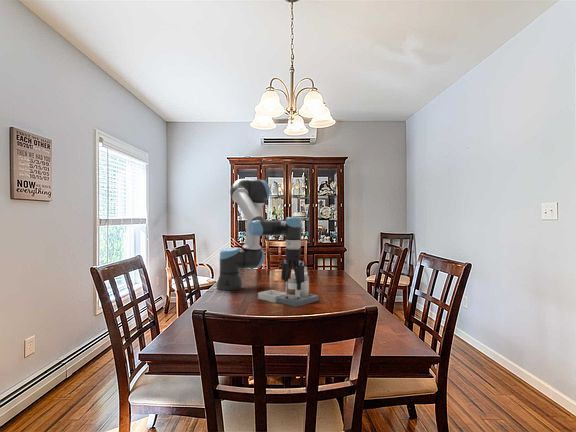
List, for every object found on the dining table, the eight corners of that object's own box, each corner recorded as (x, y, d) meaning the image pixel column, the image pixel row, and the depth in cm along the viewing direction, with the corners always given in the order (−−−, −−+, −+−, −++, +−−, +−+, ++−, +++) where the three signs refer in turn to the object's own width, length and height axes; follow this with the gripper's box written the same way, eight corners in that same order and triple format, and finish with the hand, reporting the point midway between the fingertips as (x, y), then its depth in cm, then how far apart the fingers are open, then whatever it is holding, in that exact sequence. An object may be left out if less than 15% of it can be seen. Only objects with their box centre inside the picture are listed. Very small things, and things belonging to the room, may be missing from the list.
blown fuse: (285, 303, 178) (286, 278, 178) (292, 301, 182) (292, 277, 182) (292, 304, 175) (293, 280, 175) (299, 303, 179) (299, 278, 179)
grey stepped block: (291, 294, 199) (291, 267, 199) (292, 292, 204) (292, 266, 204) (307, 294, 198) (307, 267, 198) (307, 292, 203) (307, 266, 203)
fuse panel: (277, 302, 179) (277, 297, 179) (300, 296, 192) (300, 291, 192) (295, 307, 171) (295, 301, 171) (318, 300, 184) (318, 295, 184)
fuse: (297, 300, 185) (297, 276, 185) (303, 298, 188) (303, 275, 188) (304, 301, 182) (305, 277, 182) (310, 300, 185) (310, 276, 185)
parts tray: (257, 298, 187) (258, 292, 187) (271, 295, 194) (271, 289, 194) (274, 302, 179) (274, 296, 179) (288, 299, 186) (288, 293, 186)
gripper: (274, 247, 182) (273, 293, 182) (302, 250, 169) (302, 299, 169) (284, 246, 187) (283, 291, 187) (312, 249, 175) (312, 297, 175)
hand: (292, 295), depth 178 cm, fingers open, 6 cm apart
